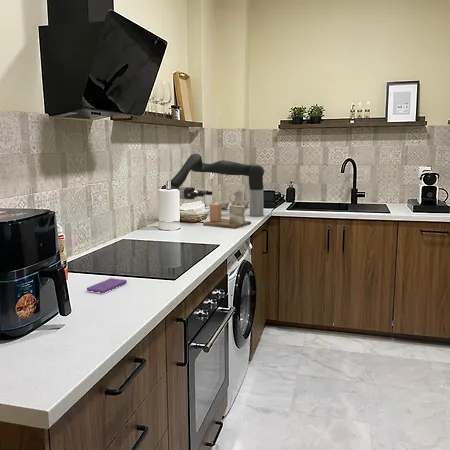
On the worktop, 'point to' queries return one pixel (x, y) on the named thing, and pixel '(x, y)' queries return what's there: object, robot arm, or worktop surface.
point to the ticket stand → (231, 219)
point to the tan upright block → (215, 212)
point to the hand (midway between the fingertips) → (207, 194)
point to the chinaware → (236, 200)
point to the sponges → (107, 285)
